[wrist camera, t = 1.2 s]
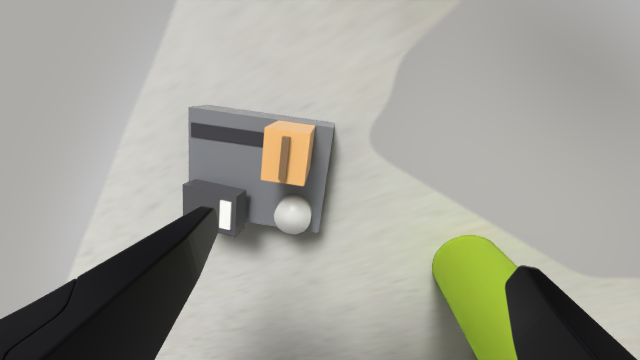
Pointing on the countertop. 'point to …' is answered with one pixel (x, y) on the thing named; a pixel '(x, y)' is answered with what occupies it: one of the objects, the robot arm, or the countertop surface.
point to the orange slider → (287, 152)
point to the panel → (257, 165)
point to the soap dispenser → (477, 293)
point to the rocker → (217, 203)
